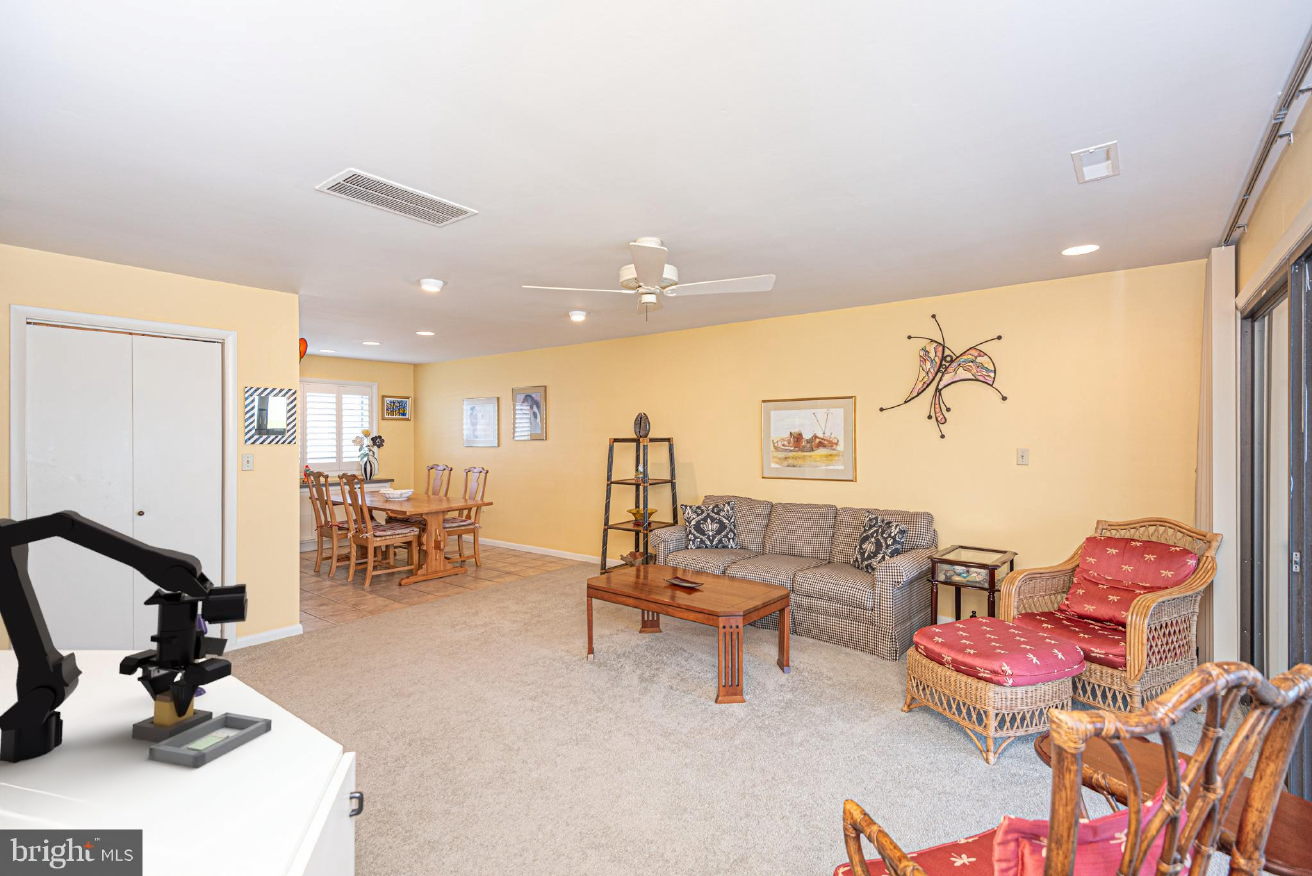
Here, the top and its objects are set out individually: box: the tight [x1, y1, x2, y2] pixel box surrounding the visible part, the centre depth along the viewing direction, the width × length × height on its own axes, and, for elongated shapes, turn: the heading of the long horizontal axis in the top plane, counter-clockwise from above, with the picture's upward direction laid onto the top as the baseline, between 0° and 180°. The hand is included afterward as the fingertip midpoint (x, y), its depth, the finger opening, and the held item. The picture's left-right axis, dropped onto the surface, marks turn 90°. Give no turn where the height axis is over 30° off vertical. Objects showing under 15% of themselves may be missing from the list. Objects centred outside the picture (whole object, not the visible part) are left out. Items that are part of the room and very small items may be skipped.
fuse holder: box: [131, 708, 214, 744], centre depth 111 cm, size 8×8×3 cm
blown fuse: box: [153, 690, 195, 726], centre depth 111 cm, size 5×3×7 cm
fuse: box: [186, 732, 230, 752], centre depth 104 cm, size 5×3×2 cm, turn 167°
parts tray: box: [148, 712, 273, 769], centre depth 107 cm, size 14×10×2 cm
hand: (173, 715), depth 111 cm, fingers closed on blown fuse, 3 cm apart
